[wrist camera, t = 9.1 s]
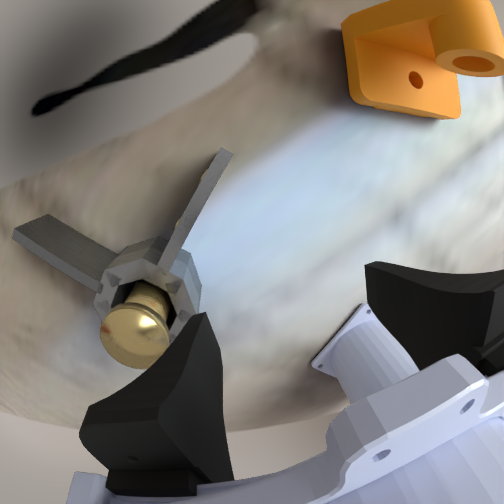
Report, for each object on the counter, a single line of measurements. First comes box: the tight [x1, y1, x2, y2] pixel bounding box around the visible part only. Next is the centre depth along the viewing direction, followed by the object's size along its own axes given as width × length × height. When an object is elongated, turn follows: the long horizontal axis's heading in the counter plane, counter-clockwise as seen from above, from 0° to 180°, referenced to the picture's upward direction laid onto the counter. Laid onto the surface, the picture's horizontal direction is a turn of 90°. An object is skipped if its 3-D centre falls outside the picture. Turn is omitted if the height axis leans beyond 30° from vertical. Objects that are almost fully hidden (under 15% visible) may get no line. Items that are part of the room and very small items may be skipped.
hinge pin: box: [100, 279, 172, 369], centre depth 18 cm, size 4×4×8 cm
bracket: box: [341, 0, 504, 120], centre depth 13 cm, size 11×7×12 cm, turn 93°
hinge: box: [12, 147, 234, 347], centre depth 18 cm, size 14×14×5 cm
